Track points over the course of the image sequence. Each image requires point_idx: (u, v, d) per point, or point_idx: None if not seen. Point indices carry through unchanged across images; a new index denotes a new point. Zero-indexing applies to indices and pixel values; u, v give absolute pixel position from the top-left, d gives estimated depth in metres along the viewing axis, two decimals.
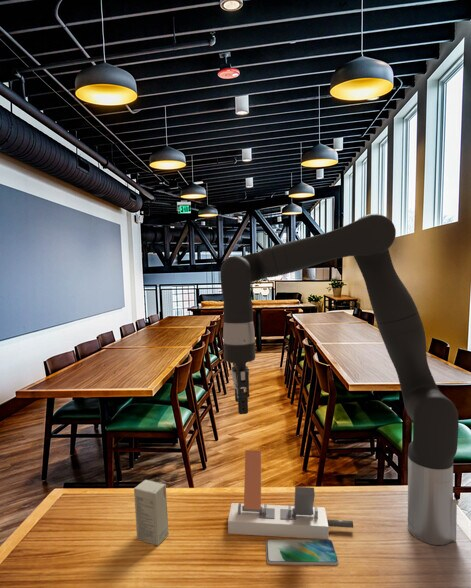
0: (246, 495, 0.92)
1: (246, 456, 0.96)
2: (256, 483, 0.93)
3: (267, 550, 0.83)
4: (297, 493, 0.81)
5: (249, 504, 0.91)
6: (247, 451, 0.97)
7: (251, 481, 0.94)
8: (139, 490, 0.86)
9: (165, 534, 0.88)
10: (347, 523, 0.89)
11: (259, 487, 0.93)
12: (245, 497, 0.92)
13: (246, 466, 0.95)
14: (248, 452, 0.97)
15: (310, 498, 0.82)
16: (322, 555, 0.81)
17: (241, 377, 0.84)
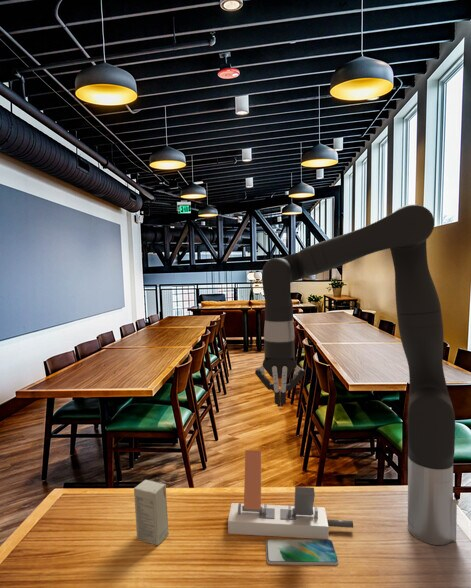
0: (246, 495, 0.92)
1: (246, 456, 0.96)
2: (256, 483, 0.93)
3: (267, 550, 0.83)
4: (297, 493, 0.81)
5: (249, 504, 0.91)
6: (247, 451, 0.97)
7: (251, 481, 0.94)
8: (139, 490, 0.86)
9: (165, 534, 0.88)
10: (347, 523, 0.89)
11: (259, 487, 0.93)
12: (245, 497, 0.92)
13: (246, 466, 0.95)
14: (248, 452, 0.97)
15: (310, 498, 0.82)
16: (322, 554, 0.81)
17: None
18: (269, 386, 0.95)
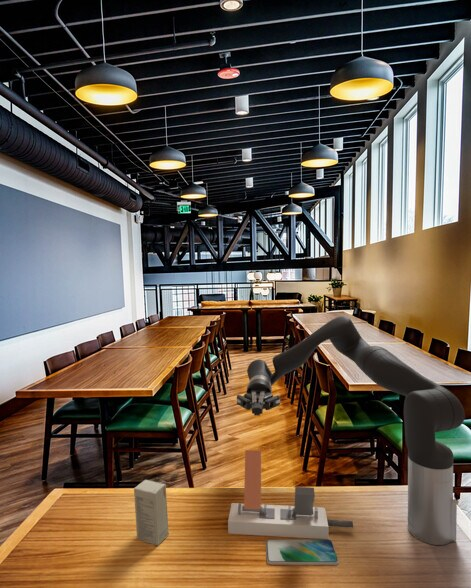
0: (246, 495, 0.92)
1: (246, 456, 0.96)
2: (256, 483, 0.93)
3: (267, 550, 0.83)
4: (297, 493, 0.81)
5: (249, 504, 0.91)
6: (247, 451, 0.97)
7: (251, 481, 0.94)
8: (139, 490, 0.86)
9: (165, 534, 0.88)
10: (347, 523, 0.89)
11: (259, 487, 0.93)
12: (245, 497, 0.92)
13: (246, 466, 0.95)
14: (248, 452, 0.97)
15: (310, 498, 0.82)
16: (322, 554, 0.81)
17: (277, 400, 1.07)
18: (248, 400, 1.05)
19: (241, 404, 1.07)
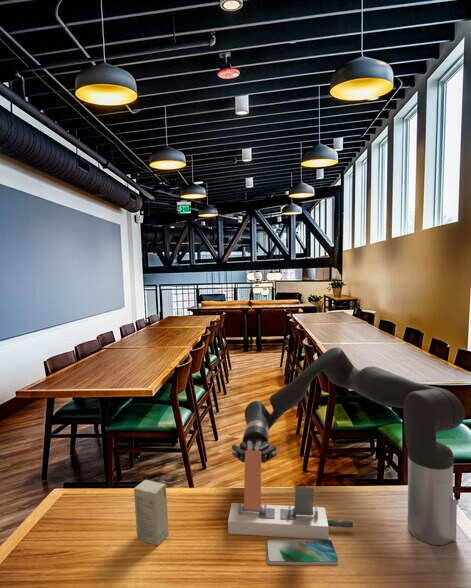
0: (246, 495, 0.92)
1: (246, 456, 0.96)
2: (256, 483, 0.93)
3: (267, 550, 0.83)
4: (297, 493, 0.81)
5: (249, 504, 0.91)
6: (247, 451, 0.96)
7: (251, 481, 0.93)
8: (139, 490, 0.86)
9: (165, 534, 0.88)
10: (347, 523, 0.89)
11: (259, 487, 0.93)
12: (245, 497, 0.92)
13: (246, 466, 0.95)
14: (248, 452, 0.96)
15: (310, 498, 0.82)
16: (322, 554, 0.81)
17: (274, 451, 1.04)
18: (243, 451, 1.02)
19: (236, 455, 1.04)
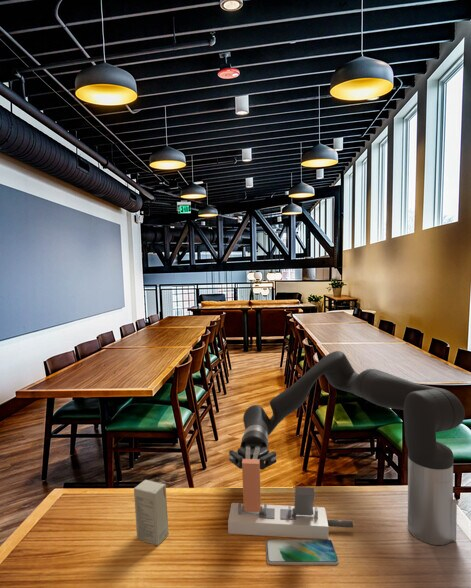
0: (245, 501, 0.90)
1: (243, 468, 0.89)
2: (255, 491, 0.90)
3: (267, 550, 0.83)
4: (297, 493, 0.81)
5: (248, 507, 0.91)
6: (244, 464, 0.88)
7: (250, 489, 0.90)
8: (139, 490, 0.86)
9: (165, 534, 0.88)
10: (347, 523, 0.89)
11: (258, 494, 0.90)
12: (244, 502, 0.90)
13: (244, 477, 0.89)
14: (245, 465, 0.88)
15: (310, 498, 0.82)
16: (322, 554, 0.81)
17: (274, 457, 0.98)
18: (241, 457, 0.96)
19: (234, 461, 0.98)
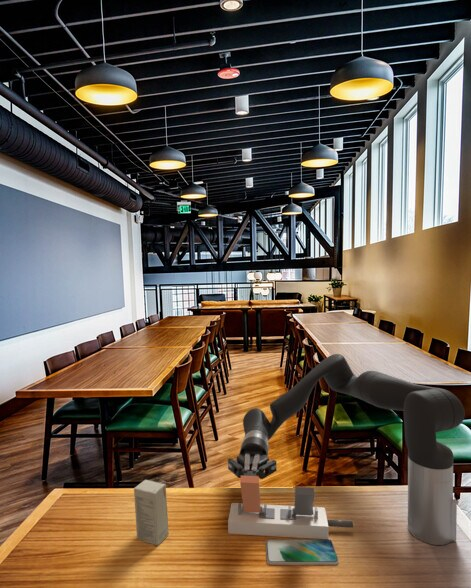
0: (245, 506, 0.90)
1: (242, 485, 0.85)
2: (255, 500, 0.88)
3: (267, 550, 0.83)
4: (297, 493, 0.81)
5: (248, 510, 0.90)
6: (242, 483, 0.84)
7: (249, 499, 0.88)
8: (139, 490, 0.86)
9: (165, 534, 0.88)
10: (347, 523, 0.89)
11: (258, 502, 0.88)
12: (244, 507, 0.90)
13: (243, 491, 0.86)
14: (244, 484, 0.84)
15: (310, 498, 0.82)
16: (322, 554, 0.81)
17: (274, 466, 0.95)
18: (240, 466, 0.93)
19: (232, 470, 0.95)
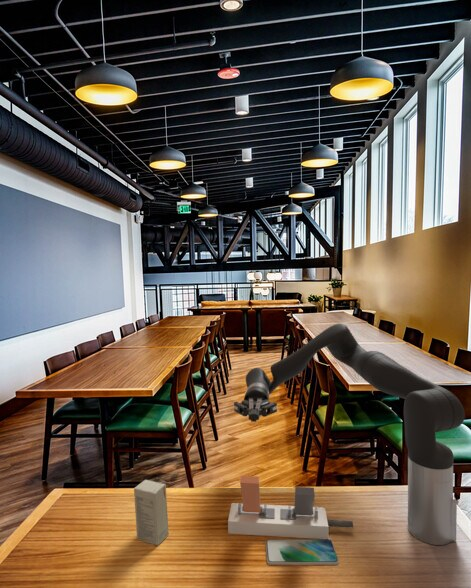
0: (245, 506, 0.89)
1: (242, 486, 0.85)
2: (255, 500, 0.88)
3: (267, 550, 0.83)
4: (297, 493, 0.81)
5: (248, 510, 0.90)
6: (242, 483, 0.84)
7: (249, 499, 0.88)
8: (139, 490, 0.86)
9: (165, 534, 0.88)
10: (347, 523, 0.89)
11: (258, 502, 0.88)
12: (244, 507, 0.90)
13: (243, 491, 0.86)
14: (244, 484, 0.84)
15: (310, 498, 0.82)
16: (322, 554, 0.81)
17: (274, 407, 1.07)
18: (245, 406, 1.06)
19: (238, 411, 1.07)
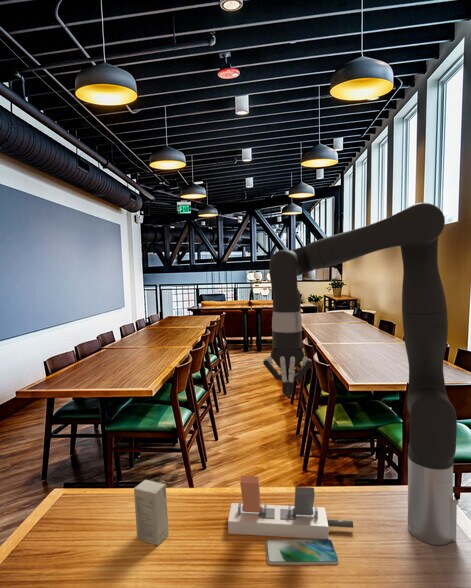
0: (245, 506, 0.89)
1: (242, 486, 0.85)
2: (255, 500, 0.88)
3: (267, 550, 0.83)
4: (297, 493, 0.81)
5: (248, 510, 0.90)
6: (242, 483, 0.84)
7: (249, 499, 0.88)
8: (139, 490, 0.86)
9: (165, 534, 0.88)
10: (347, 523, 0.89)
11: (258, 502, 0.88)
12: (244, 507, 0.90)
13: (243, 491, 0.86)
14: (244, 484, 0.84)
15: (310, 498, 0.82)
16: (322, 554, 0.81)
17: None
18: (277, 376, 0.97)
19: None
